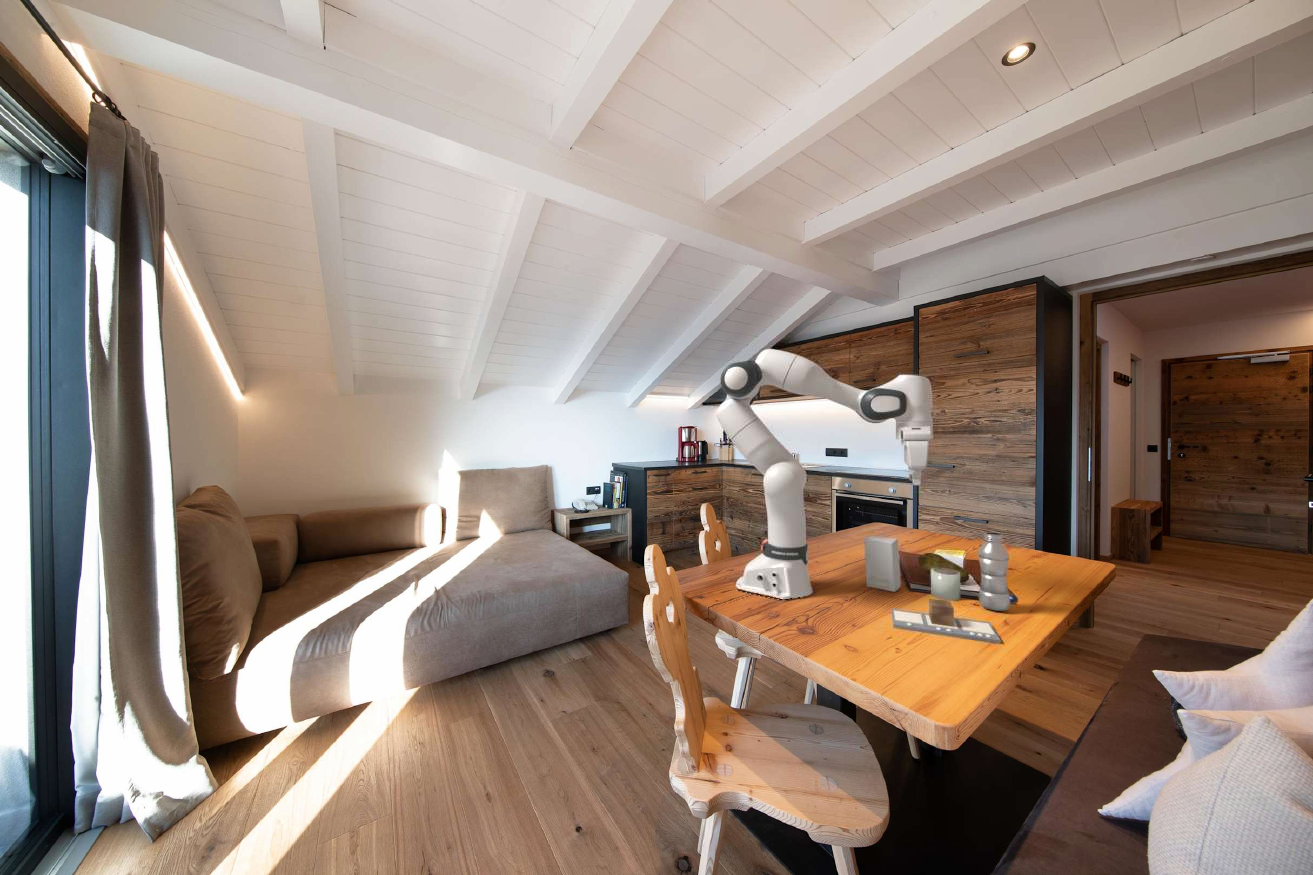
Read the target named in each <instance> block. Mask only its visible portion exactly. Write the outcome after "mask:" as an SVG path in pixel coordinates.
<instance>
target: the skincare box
mask: <svg viewBox="0 0 1313 875" xmlns="http://www.w3.org/2000/svg"><path fill="white" fill-rule="evenodd" d="M863 542H864V544H863V546H864V556H865V557H864V560H865V562H864V563H865V576H866V587H869V588H874V589H879V590H883V591H888V592H893V593H895V592H896V591H897V590H899V589H900V588H901V586H902V585H901V584H902V583H901V582H902V581H901V570H900V569H901V567H900V554H899V553H900V552H899V551H900V550H899V539H898V538H891V537H883V536H874V535H870V536H868V537H866V538H864V540H863Z"/></svg>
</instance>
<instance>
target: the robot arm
mask: <svg viewBox="0 0 1313 875" xmlns="http://www.w3.org/2000/svg"><path fill="white" fill-rule="evenodd" d="M720 385H721V388H722V390H723V392H724V393H725V394H726V398H725V400H724V401H723V402H722V403H721V404H720V405H719V406H718V408H717V411H716V418H717V420H718V422H719V424H720V426H721V428H722V429H723V432H725V434H726V436H727V437H728V439H729V440H730V441H731V442H732V443H733V444H734V446H735V447H736V448H737V449H738V451H739V452H740V453H741V455H742V456H743V457H744V458H745V460H746V461H747V462H749V464H751V465H752V466H753V467H755V469H756V470H758V472H760V473H761V474H762V476H763V479H762V480H763V490H764V492H763V494H764V501H765V507H766V508H765V509H766V514H767V515H766V517H767V538H765V539H764V540H763V541H762V542H761V546H760V550H761V553H760V554H759V555H758V556H756V557H755V558H753V559H752V560H751V561H749V562H748V563H747V564H746V565H745V568H744V570H743V571H744V572H743V576H740V577H739V578H738V580H736V583H735V588H736V587H737V588H738V589H742V590H745V591H750V592H754V593H759V594H764V595H769V596H773V597H776V598H780V599H789V598H792V599H799V598H798V597H800V598H805V597H808V596H811V594H813V587H812V584H811V580H810V575H809V570H808V568H809V567H808V563H809V547H808V544H807V534H806V533H807V529H806V528H807V526H806V525H807V523H806V521H807V520H806V519H807V517H806V512H805V501H804V500H805V499H804V488H805V486H806V483H807V477H808V476H807V472H806V469H805V468H804V466H803V465H802V464H801V463H800V462H799V461H798V460H797V459H796V458H795V456H794V455H793V454H792V453H791V452H790V451H789V450H788V449H787V448H786V447H785V446H784V445H783V444H782V443H781V442H780V441H779V439H777V437H776V436H775V435H774V434H773V433H772V432H771V430H770V429H769V428H768V427H767V426H766V424H765V423H764V422H763V421H762V420H761V419H760V418H759V416H758V415H757V414H756V413H755V411H754V410H753V409H752V407H751V406H752V404H753V403H754V401H755V400H756V399H757V397H758V395H759V394H760V391H761V388H762V386H772V387H776V388H779V389H781V390H783V391H786V392H788V393H793V394H796V395H800V396H806V397H815V398H821V399H825V400H829V401H831V402H834V403H836V404H838V405H841V406H844V407H846V408H849V409H850V410H853V411H855V413H857V415H858V416H859V417H860V418H861V419H862V420H863V421H865V422H867V423H872V424H880V423H883V422H886V421H888V420H890V419H894V420H895V439H896V440H900V445H901V446H904V447H903V460H904V463H905V464H906V465H907V469H908V474H909V475H908V477H909V478H908V479H909V480H908V481H911V482H912V485H913V486H921V485H922V480H921V479H922V472H923V470H925V469H926V468H927V467H928V466H927V465H928V461H929V460H928V459H929V448H930V446H929V445H930V441H931V440H933V439H934V433H933V432H934V424H933V423H934V420H933V417H932V409H933V404H934V403H933V392H932V384H931V381H930V379H929V378H927V376H925V375H921V374H916V373H902V374H899V375H898V376H896V377H895V378H893V379H892V380H890V381H889V382H886V383H884V384H882V385H879V386H875V387H873V388H871V389H869V390H865V389H860V388H857V387H854V386H852V385H849V384H846V383H844V382H841V381H839V380H836V379H835V378H833V377H832V376H830V375H829V374H828V373H827V372H825V370H824V369H823V368H822V367H821V366H820V365H819V364H817V363H816V362H814V361H812V360H810V359H808V358H806V357H804V356H801V355H798V354H795V353H792V352H789V351H784V350H779V349H774V348H767V349H766V348H765V349H764V350H762V351H761V352H760V353H758V355H757V356H756V359H755V360H752V359H750V360H744V361H737V362H733V363H730V364H728V365H727V366H725V368H724V369H723V370H722V373H721V374H720ZM804 596H805V597H804ZM789 600H790V599H789Z"/></svg>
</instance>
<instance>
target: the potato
mask: <svg viewBox="0 0 1313 875" xmlns="http://www.w3.org/2000/svg"><path fill="white" fill-rule="evenodd" d="M918 564H919V567H920V568H921V570H923V572H924V573H925V574H927V575H929V576H931V569H932V568H948V569H952V570H956V571H958V572H960V584H964V583H966V582H968V581H969V580H970V575H969V571H968V570H967V569H966V568H964V567H962V566H960V565H959V564H956V563H955V562H952V561H951V560H949V559H948V558H945V557H944V556H943V555H940V554H937V553H933V552H926V553H922V554H921V555H920V556H919V557H918Z"/></svg>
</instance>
